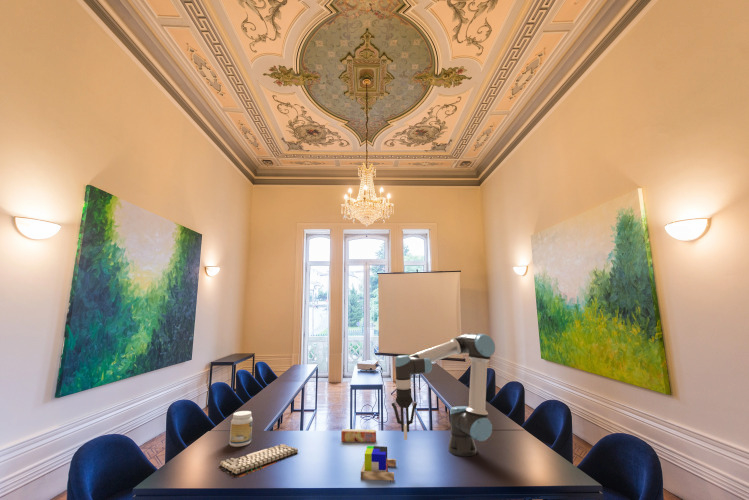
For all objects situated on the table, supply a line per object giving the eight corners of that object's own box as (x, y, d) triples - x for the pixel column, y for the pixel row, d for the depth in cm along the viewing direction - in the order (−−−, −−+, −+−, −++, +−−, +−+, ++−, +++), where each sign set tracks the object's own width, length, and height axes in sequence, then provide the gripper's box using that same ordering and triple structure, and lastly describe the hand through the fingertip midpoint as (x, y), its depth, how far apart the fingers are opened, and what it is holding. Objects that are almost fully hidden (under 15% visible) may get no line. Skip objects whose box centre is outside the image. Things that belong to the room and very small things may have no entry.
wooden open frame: (395, 465, 168) (395, 459, 169) (393, 480, 153) (393, 473, 153) (365, 464, 170) (365, 457, 171) (360, 478, 155) (360, 471, 155)
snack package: (376, 439, 205) (376, 427, 207) (375, 443, 199) (375, 431, 200) (341, 439, 206) (342, 427, 207) (340, 443, 200) (340, 430, 201)
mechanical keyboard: (280, 446, 196) (280, 440, 196) (300, 455, 184) (301, 448, 184) (216, 469, 167) (217, 461, 168) (236, 480, 155) (236, 472, 156)
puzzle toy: (385, 478, 155) (385, 454, 157) (364, 477, 157) (364, 453, 159) (387, 468, 165) (387, 446, 167) (367, 467, 166) (367, 445, 168)
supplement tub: (253, 444, 197) (255, 413, 201) (231, 449, 190) (234, 417, 194) (248, 438, 207) (250, 409, 210) (227, 442, 200) (229, 412, 204)
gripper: (416, 386, 171) (419, 436, 166) (391, 386, 172) (392, 435, 168) (416, 389, 163) (419, 441, 159) (390, 389, 165) (391, 441, 160)
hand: (405, 438), depth 163 cm, fingers closed
